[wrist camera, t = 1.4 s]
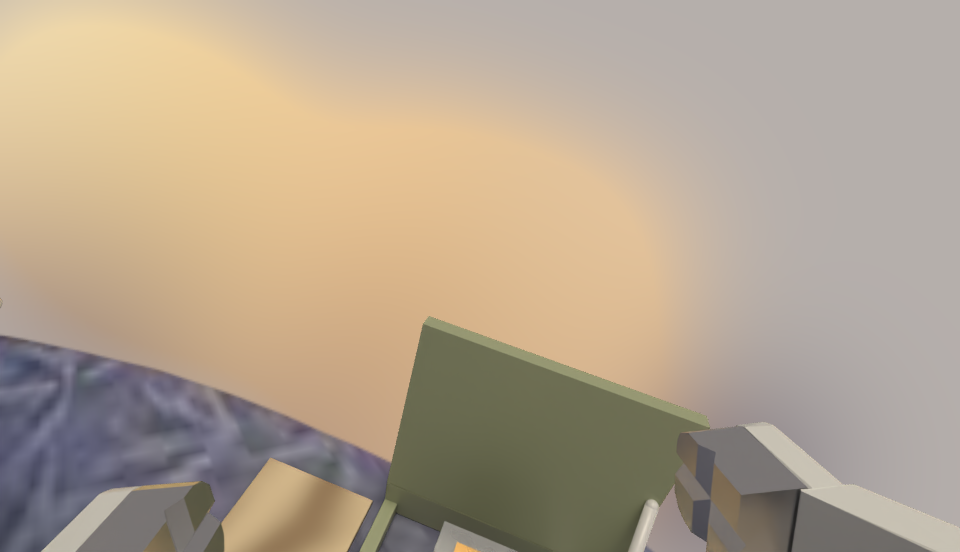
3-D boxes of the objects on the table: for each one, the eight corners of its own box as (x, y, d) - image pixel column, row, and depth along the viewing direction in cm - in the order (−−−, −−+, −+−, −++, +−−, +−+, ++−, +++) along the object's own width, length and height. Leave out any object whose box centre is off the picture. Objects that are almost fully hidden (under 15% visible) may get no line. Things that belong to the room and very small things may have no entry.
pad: (181, 579, 30) (180, 577, 30) (270, 460, 37) (270, 457, 37) (304, 637, 29) (304, 635, 28) (372, 503, 36) (372, 500, 35)
